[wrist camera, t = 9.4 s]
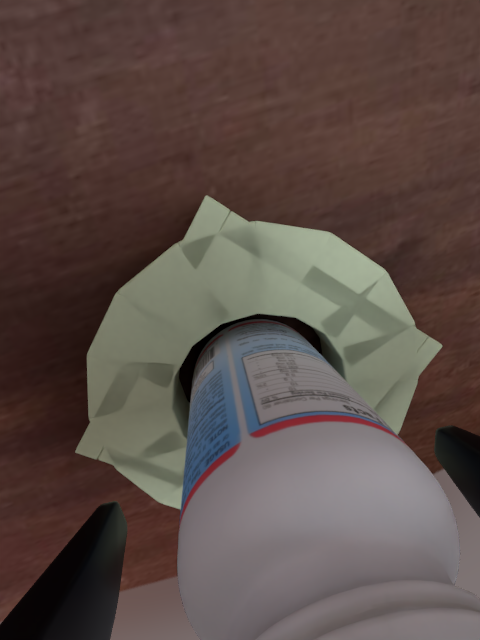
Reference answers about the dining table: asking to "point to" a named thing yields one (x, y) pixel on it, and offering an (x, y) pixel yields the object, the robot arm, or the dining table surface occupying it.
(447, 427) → the robot arm
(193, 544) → the pill bottle
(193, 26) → the dining table surface
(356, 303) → the socket pad
